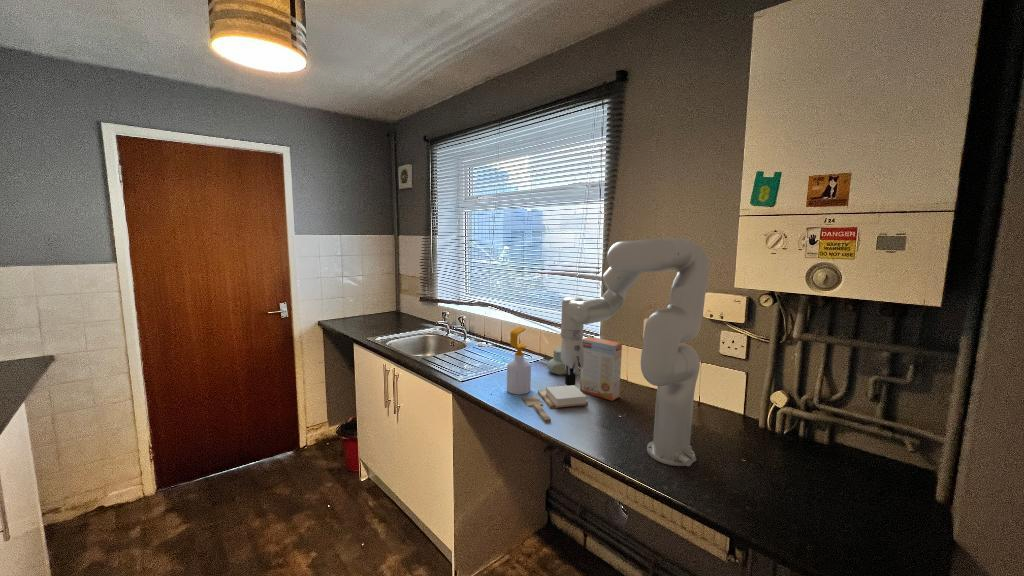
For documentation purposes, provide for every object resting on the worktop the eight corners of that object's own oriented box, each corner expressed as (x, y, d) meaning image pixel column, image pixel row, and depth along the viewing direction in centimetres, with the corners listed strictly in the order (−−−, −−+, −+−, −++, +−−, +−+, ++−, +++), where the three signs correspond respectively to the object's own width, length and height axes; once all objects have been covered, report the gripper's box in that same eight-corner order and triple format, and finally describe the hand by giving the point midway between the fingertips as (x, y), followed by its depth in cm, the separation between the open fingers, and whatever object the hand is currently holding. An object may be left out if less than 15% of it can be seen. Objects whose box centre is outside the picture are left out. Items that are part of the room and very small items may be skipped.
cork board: (587, 404, 151) (587, 402, 151) (550, 408, 147) (550, 405, 147) (572, 390, 164) (572, 387, 164) (537, 393, 161) (538, 390, 160)
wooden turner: (556, 422, 137) (556, 418, 137) (539, 423, 136) (539, 420, 136) (536, 398, 156) (537, 394, 156) (522, 399, 155) (522, 396, 155)
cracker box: (620, 397, 158) (623, 342, 155) (611, 401, 154) (614, 345, 151) (587, 387, 167) (590, 335, 164) (579, 391, 163) (581, 338, 160)
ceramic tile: (586, 396, 148) (574, 385, 159) (556, 399, 145) (546, 387, 156) (586, 404, 148) (573, 392, 159) (556, 407, 146) (545, 395, 156)
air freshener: (548, 375, 180) (548, 352, 178) (546, 369, 188) (546, 347, 187) (573, 376, 180) (574, 353, 178) (570, 369, 188) (571, 347, 187)
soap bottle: (535, 392, 162) (536, 329, 158) (515, 397, 157) (516, 332, 153) (521, 384, 169) (522, 324, 166) (502, 389, 164) (503, 327, 160)
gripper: (591, 338, 139) (589, 391, 142) (573, 327, 153) (571, 376, 156) (570, 339, 137) (568, 393, 140) (554, 328, 151) (552, 377, 154)
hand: (570, 384), depth 148 cm, fingers closed
